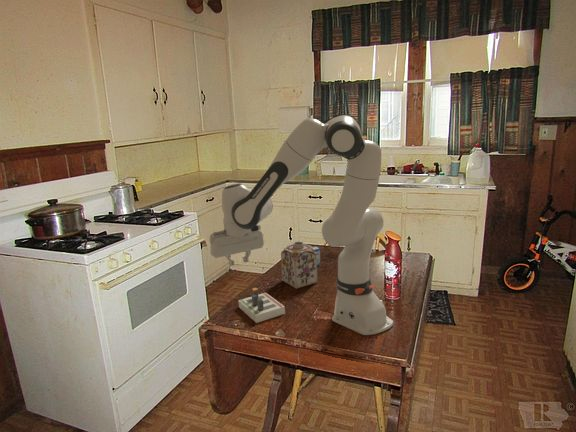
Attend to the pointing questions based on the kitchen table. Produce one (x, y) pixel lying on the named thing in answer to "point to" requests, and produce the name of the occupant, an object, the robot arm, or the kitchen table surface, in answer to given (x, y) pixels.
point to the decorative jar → (299, 265)
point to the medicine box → (317, 254)
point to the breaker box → (261, 307)
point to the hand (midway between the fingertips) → (238, 263)
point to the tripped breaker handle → (255, 291)
